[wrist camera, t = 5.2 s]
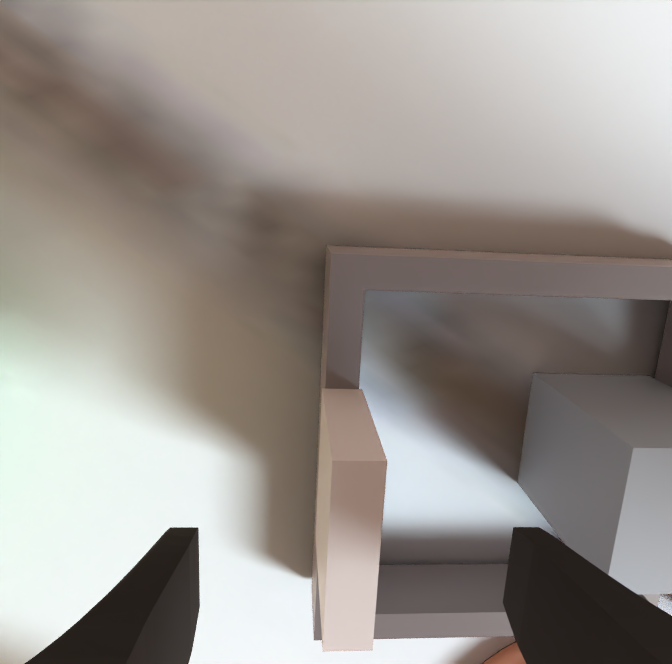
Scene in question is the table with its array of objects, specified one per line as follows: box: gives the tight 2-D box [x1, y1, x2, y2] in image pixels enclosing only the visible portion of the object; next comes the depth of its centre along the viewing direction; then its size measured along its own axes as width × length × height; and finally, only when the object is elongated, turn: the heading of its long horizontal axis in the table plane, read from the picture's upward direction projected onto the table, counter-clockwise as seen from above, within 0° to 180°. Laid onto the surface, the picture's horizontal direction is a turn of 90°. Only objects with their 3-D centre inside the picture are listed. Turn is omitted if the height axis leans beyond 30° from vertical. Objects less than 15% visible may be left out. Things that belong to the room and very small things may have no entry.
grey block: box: [517, 373, 672, 594], centre depth 17 cm, size 4×4×6 cm
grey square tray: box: [312, 245, 672, 651], centre depth 16 cm, size 13×13×7 cm
